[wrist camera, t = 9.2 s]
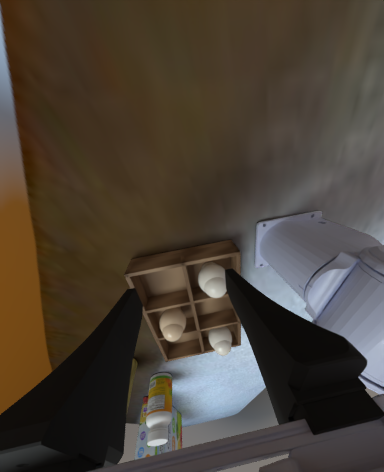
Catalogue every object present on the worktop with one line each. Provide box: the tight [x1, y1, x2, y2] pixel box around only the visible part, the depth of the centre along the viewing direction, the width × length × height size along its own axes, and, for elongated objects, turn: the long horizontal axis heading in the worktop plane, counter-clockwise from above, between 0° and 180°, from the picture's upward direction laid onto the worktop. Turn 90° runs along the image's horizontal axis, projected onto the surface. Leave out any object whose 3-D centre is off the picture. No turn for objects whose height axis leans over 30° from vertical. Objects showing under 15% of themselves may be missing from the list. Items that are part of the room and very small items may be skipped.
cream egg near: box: [198, 261, 227, 298], centre depth 20 cm, size 4×4×5 cm
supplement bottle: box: [146, 372, 172, 446], centre depth 32 cm, size 5×5×10 cm
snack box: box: [134, 396, 182, 460], centre depth 38 cm, size 21×6×15 cm, turn 15°
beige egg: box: [159, 307, 186, 342], centre depth 23 cm, size 4×4×5 cm
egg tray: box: [124, 240, 241, 362], centre depth 24 cm, size 15×22×3 cm
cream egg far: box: [209, 326, 232, 356], centre depth 26 cm, size 4×4×5 cm
